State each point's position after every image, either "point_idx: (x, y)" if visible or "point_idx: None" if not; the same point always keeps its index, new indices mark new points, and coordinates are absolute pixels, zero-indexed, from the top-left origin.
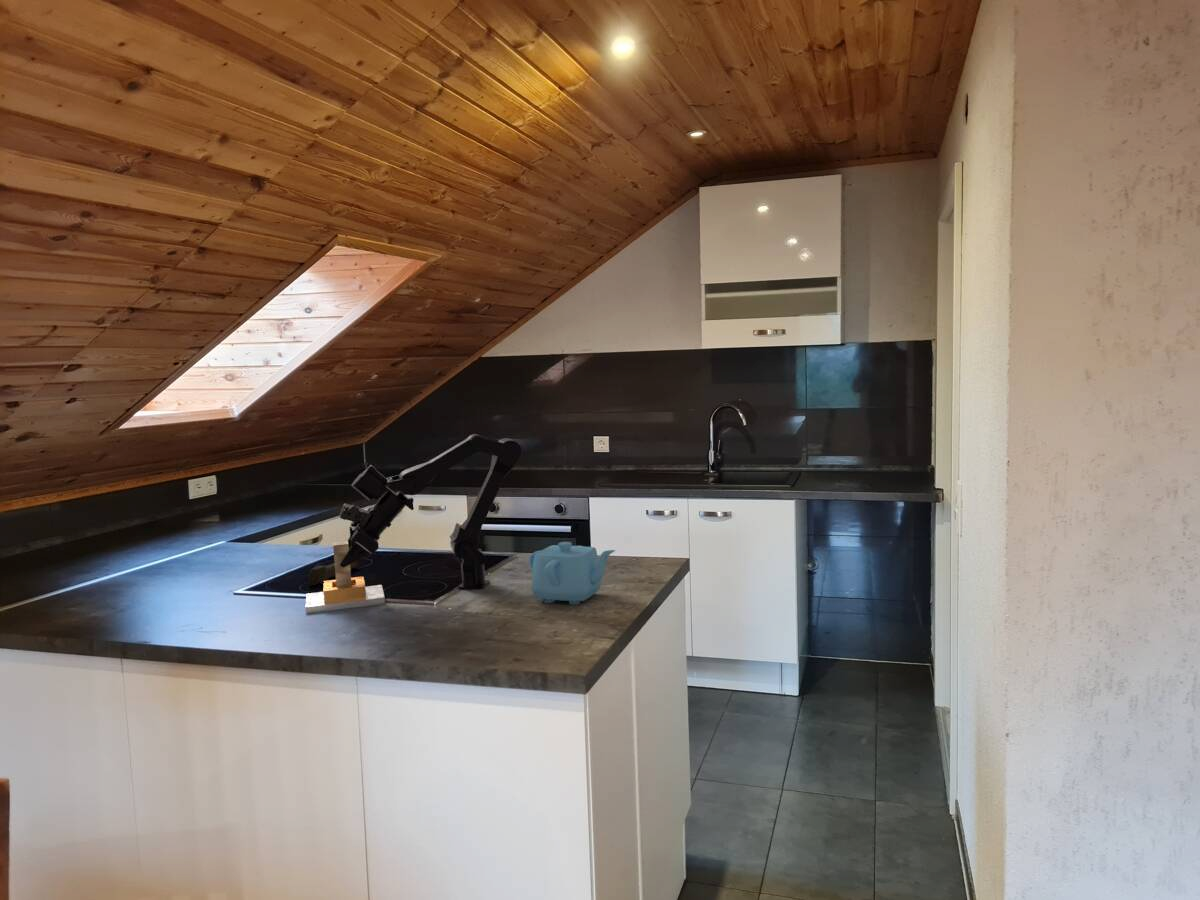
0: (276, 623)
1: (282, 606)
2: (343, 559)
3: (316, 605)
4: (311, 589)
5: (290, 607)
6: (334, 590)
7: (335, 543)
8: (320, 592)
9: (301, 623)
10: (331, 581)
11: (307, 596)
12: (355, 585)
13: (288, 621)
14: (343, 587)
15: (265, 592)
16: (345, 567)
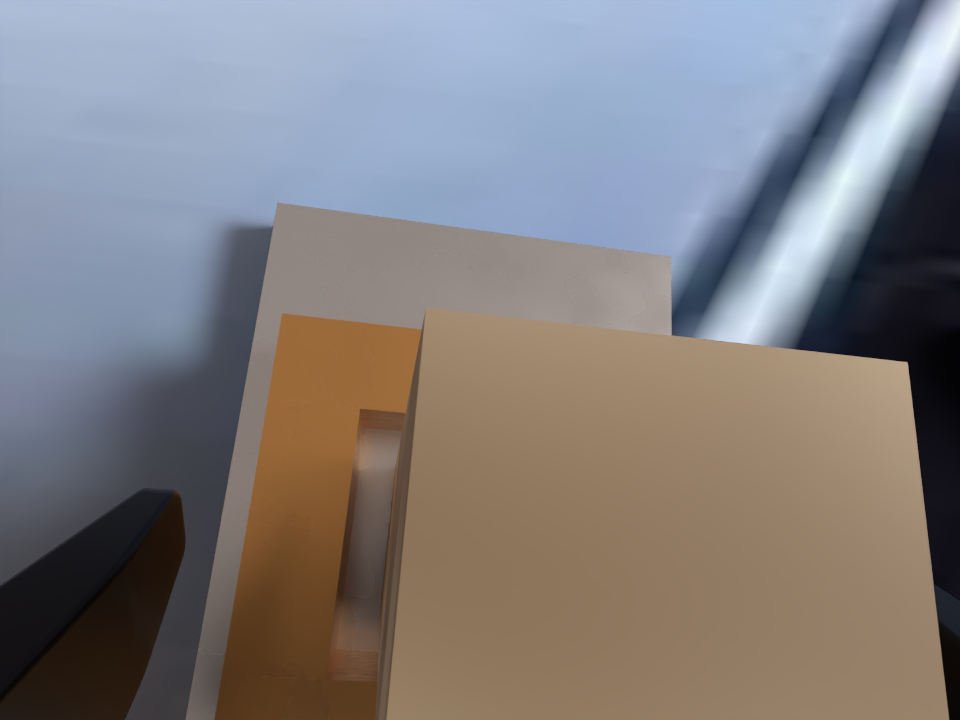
0: (164, 35)
1: (563, 117)
2: (21, 572)
3: (277, 283)
4: (907, 332)
5: (511, 157)
6: (264, 421)
7: (723, 422)
8: None
9: (39, 169)
10: None
11: (589, 253)
12: (310, 669)
13: (159, 103)
14: (304, 523)
15: (933, 75)
16: (385, 595)
